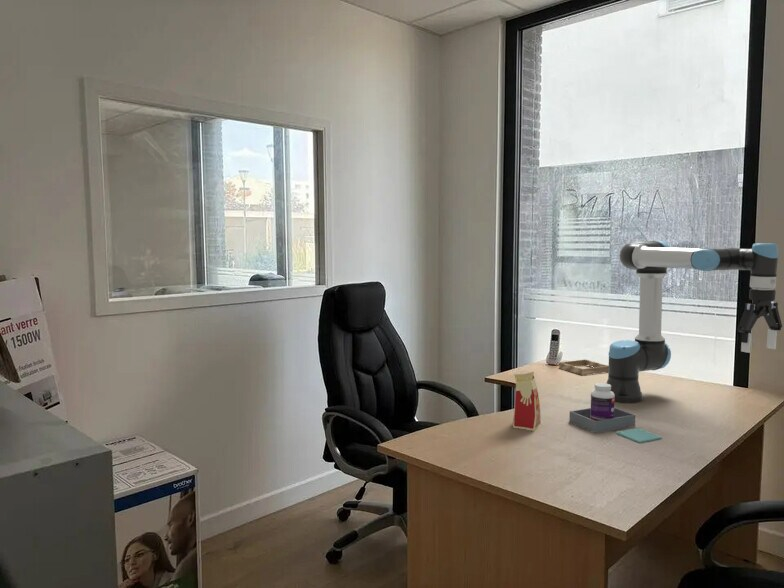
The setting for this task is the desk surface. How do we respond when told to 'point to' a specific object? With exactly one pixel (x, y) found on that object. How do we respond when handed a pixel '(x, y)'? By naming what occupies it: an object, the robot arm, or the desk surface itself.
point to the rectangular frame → (618, 422)
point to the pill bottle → (602, 402)
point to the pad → (639, 435)
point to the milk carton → (526, 403)
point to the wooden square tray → (571, 367)
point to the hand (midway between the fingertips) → (758, 350)
